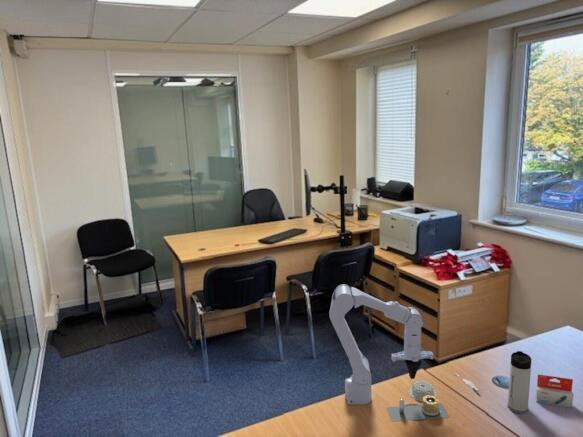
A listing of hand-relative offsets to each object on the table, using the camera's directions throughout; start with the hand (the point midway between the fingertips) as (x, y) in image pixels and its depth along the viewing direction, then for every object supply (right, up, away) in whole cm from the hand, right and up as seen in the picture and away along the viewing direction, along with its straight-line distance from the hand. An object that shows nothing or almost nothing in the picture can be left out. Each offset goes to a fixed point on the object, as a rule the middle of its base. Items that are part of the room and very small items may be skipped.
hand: (411, 377), depth 160 cm
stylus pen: (+24, -7, +11) cm, 27 cm away
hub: (+5, -10, -6) cm, 12 cm away
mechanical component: (+5, -9, +5) cm, 11 cm away
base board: (0, -11, -6) cm, 12 cm away
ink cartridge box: (+49, -8, -3) cm, 50 cm away
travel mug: (+36, -9, -4) cm, 37 cm away
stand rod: (-5, -10, -6) cm, 13 cm away
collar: (+5, -9, -6) cm, 12 cm away
